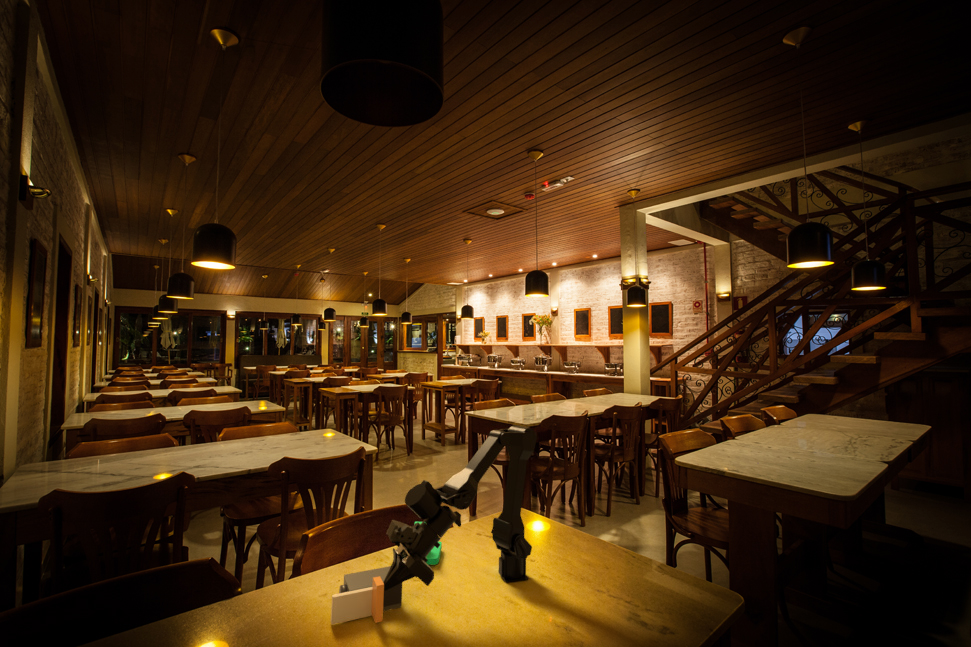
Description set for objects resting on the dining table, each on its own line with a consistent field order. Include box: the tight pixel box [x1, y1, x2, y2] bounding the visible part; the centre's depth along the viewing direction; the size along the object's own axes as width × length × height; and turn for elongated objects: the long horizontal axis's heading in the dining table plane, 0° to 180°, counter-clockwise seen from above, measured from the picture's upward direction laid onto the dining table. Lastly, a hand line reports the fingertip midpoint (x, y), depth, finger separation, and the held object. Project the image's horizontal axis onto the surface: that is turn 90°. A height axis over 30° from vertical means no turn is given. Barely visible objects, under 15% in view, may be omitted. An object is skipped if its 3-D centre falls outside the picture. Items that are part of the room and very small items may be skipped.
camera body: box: [338, 565, 403, 612], centre depth 101 cm, size 13×8×6 cm, turn 116°
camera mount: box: [413, 521, 443, 566], centre depth 126 cm, size 12×8×10 cm, turn 0°
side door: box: [330, 576, 384, 625], centre depth 93 cm, size 10×5×8 cm, turn 116°
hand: (383, 589), depth 95 cm, fingers closed
